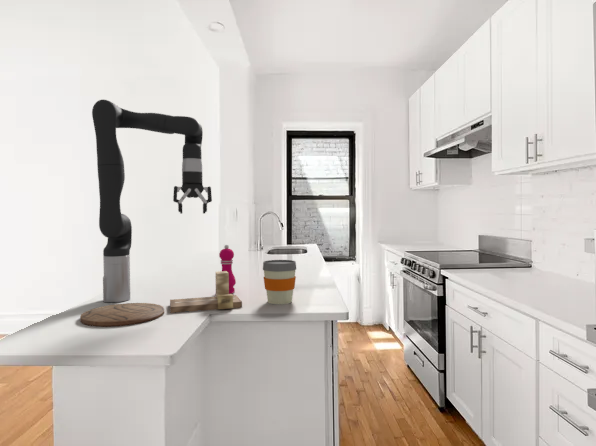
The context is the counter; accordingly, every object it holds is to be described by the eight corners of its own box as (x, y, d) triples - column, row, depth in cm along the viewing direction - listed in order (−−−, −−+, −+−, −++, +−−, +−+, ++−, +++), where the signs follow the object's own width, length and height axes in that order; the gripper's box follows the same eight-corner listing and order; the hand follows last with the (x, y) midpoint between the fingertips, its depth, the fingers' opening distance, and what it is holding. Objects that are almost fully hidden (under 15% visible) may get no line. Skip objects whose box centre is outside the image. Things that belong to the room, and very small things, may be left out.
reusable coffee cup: (292, 306, 146) (292, 264, 146) (258, 304, 148) (258, 263, 148) (299, 298, 158) (299, 260, 158) (268, 297, 161) (267, 259, 160)
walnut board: (170, 312, 137) (170, 306, 137) (170, 305, 149) (170, 299, 149) (242, 307, 145) (241, 301, 145) (236, 300, 156) (236, 294, 156)
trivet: (115, 332, 116) (115, 325, 116) (63, 321, 129) (62, 315, 129) (180, 313, 138) (180, 307, 138) (130, 305, 150) (130, 300, 150)
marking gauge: (218, 309, 140) (218, 276, 140) (213, 301, 153) (213, 270, 152) (233, 308, 141) (232, 275, 141) (227, 300, 154) (226, 270, 154)
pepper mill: (234, 294, 167) (233, 245, 167) (216, 294, 168) (215, 245, 167) (237, 290, 175) (236, 244, 174) (220, 290, 175) (219, 244, 174)
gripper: (173, 169, 152) (173, 213, 152) (212, 170, 156) (212, 213, 157) (172, 171, 159) (173, 213, 159) (210, 172, 163) (210, 213, 164)
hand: (192, 213), depth 158 cm, fingers open, 8 cm apart
